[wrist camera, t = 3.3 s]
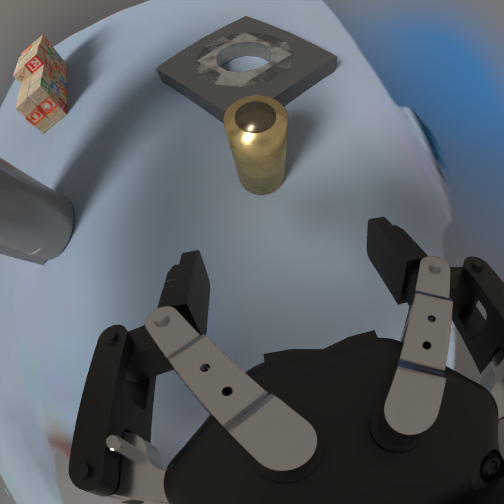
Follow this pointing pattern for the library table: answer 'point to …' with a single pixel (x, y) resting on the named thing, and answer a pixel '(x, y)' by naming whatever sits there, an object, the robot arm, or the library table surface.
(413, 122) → the library table surface
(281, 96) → the plate
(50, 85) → the stack of blocks
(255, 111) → the brass sleeve
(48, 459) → the library table surface
